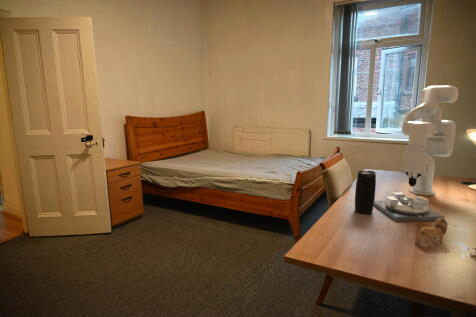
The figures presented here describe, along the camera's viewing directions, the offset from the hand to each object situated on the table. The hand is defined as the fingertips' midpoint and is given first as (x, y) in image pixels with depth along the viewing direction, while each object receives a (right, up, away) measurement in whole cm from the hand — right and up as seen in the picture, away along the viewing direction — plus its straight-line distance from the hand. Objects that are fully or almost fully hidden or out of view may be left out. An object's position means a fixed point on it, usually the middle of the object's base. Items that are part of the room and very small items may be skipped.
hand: (412, 185), depth 148 cm
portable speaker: (-25, -12, -2) cm, 28 cm away
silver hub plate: (-5, -10, -3) cm, 12 cm away
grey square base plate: (-5, -12, -3) cm, 13 cm away
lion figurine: (-12, -19, -34) cm, 40 cm away
